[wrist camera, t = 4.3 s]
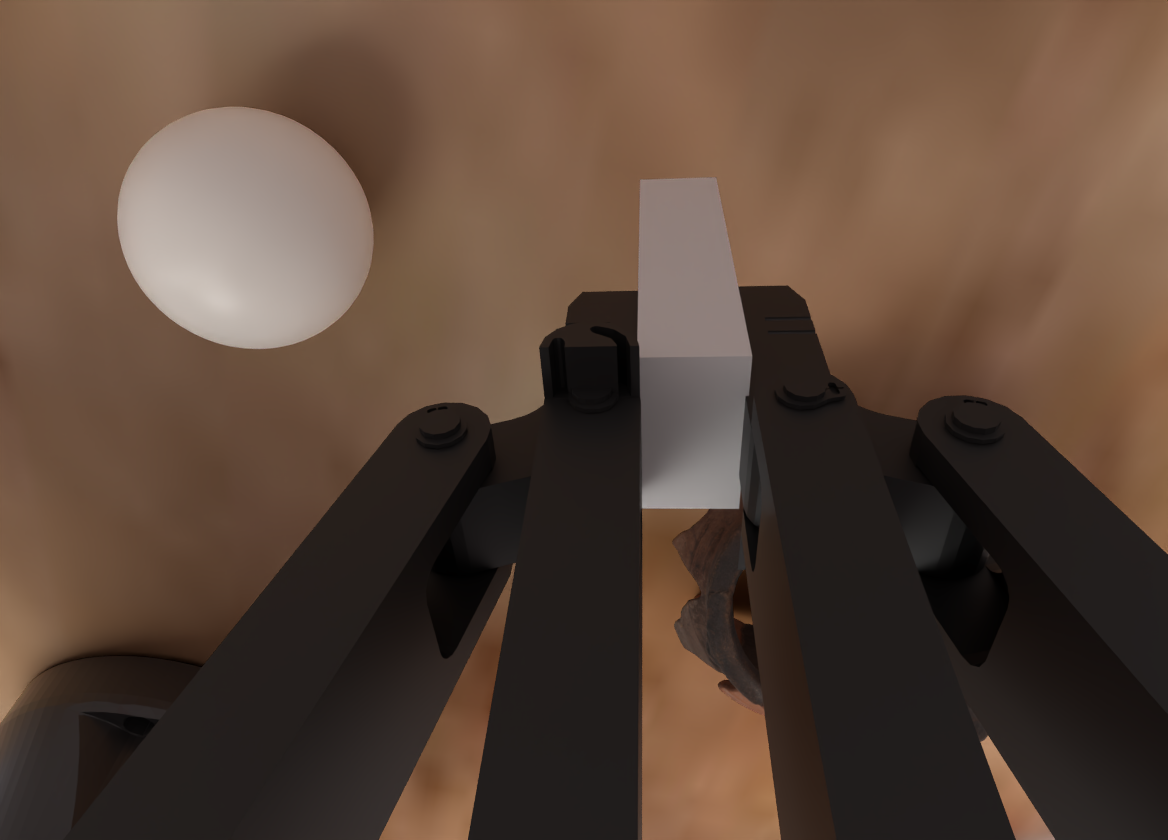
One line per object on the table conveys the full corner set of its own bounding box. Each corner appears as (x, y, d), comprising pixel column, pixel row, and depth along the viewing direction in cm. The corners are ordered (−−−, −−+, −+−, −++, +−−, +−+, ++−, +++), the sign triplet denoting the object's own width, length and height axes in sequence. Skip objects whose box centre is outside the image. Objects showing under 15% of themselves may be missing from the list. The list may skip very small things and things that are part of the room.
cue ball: (439, 221, 21) (388, 323, 16) (296, 316, 23) (215, 430, 18) (290, 31, 18) (181, 92, 14) (142, 157, 20) (6, 245, 16)
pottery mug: (614, 578, 30) (612, 670, 22) (747, 368, 29) (799, 380, 21) (880, 739, 30) (978, 890, 22) (1022, 536, 29) (1182, 615, 21)
